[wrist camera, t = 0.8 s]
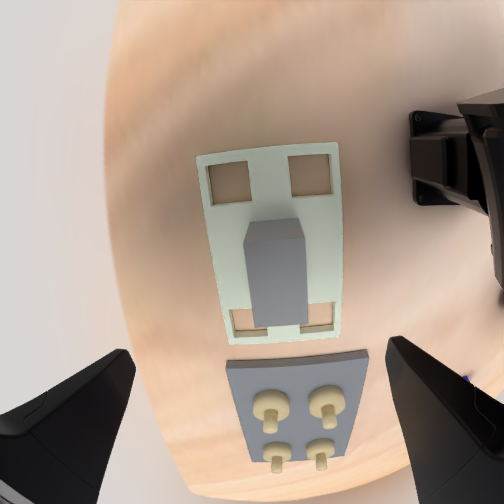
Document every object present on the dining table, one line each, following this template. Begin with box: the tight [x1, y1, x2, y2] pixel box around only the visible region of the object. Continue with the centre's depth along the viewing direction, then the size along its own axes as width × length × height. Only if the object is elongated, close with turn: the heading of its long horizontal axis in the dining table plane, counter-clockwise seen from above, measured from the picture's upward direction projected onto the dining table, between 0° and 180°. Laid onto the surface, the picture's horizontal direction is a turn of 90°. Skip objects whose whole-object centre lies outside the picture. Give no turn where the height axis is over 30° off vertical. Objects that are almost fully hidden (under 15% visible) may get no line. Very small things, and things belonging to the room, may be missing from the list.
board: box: [195, 142, 343, 345], centre depth 16 cm, size 9×14×5 cm, turn 7°
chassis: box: [225, 350, 369, 473], centre depth 23 cm, size 12×19×4 cm, turn 7°
